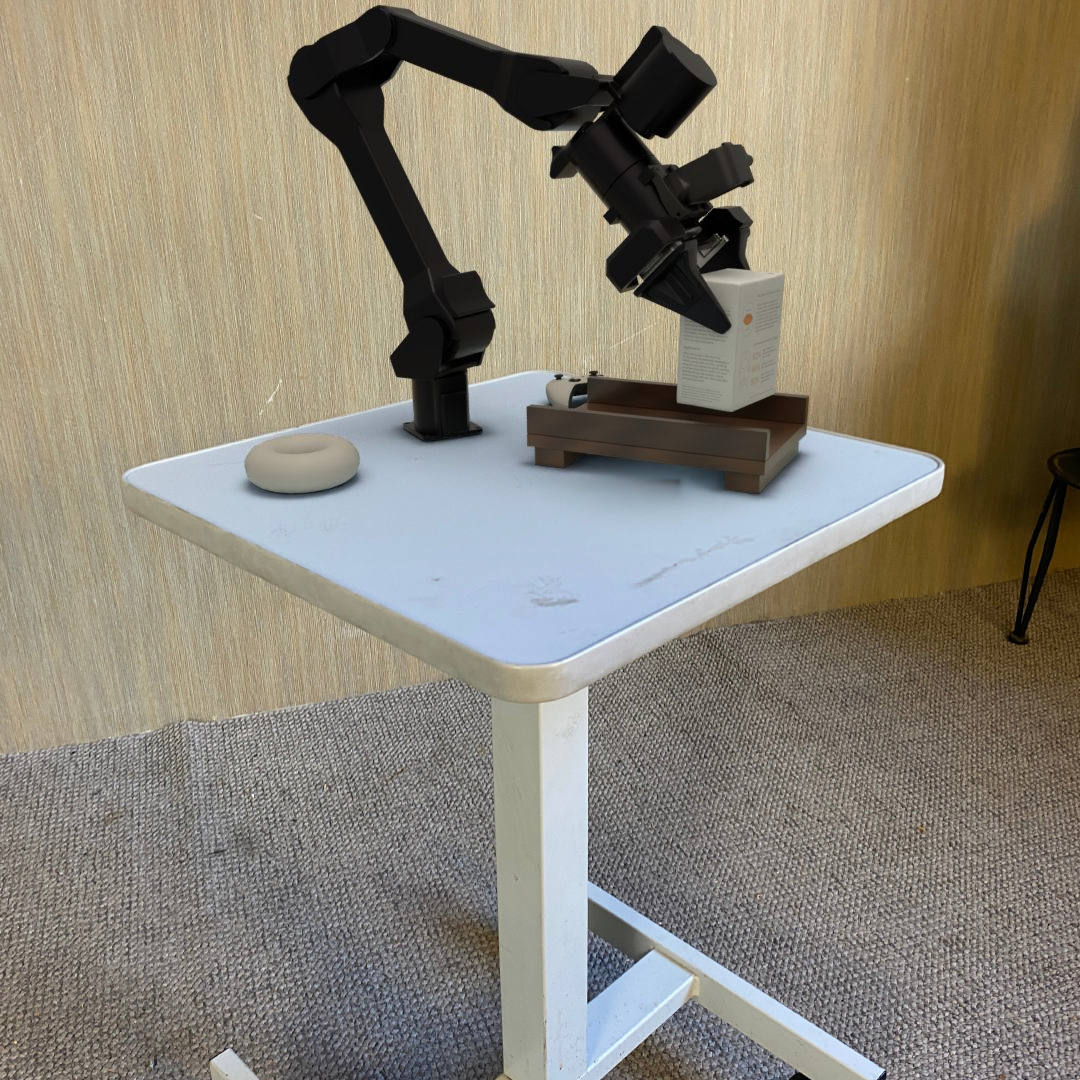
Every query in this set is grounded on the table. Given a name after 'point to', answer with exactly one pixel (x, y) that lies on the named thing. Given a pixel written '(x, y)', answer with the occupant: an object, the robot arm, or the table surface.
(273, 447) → the donut
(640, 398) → the tray
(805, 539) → the table surface
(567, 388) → the game controller
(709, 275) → the small box
